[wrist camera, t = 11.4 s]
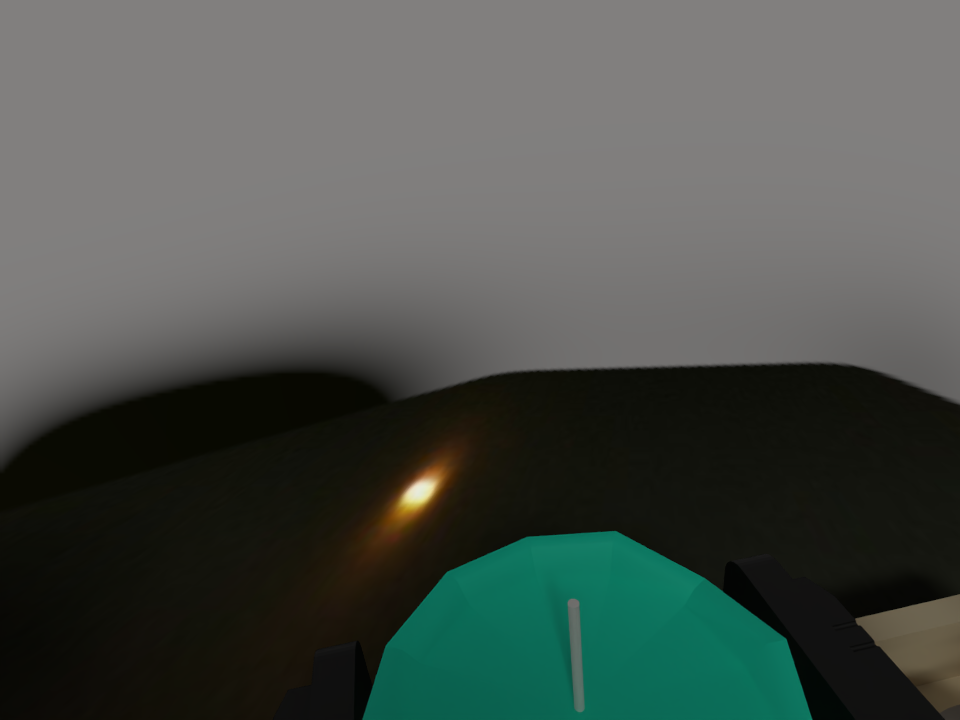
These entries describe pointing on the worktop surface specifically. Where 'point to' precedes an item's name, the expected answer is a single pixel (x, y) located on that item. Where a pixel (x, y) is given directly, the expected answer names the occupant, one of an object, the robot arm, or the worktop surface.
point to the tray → (924, 648)
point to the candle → (583, 642)
